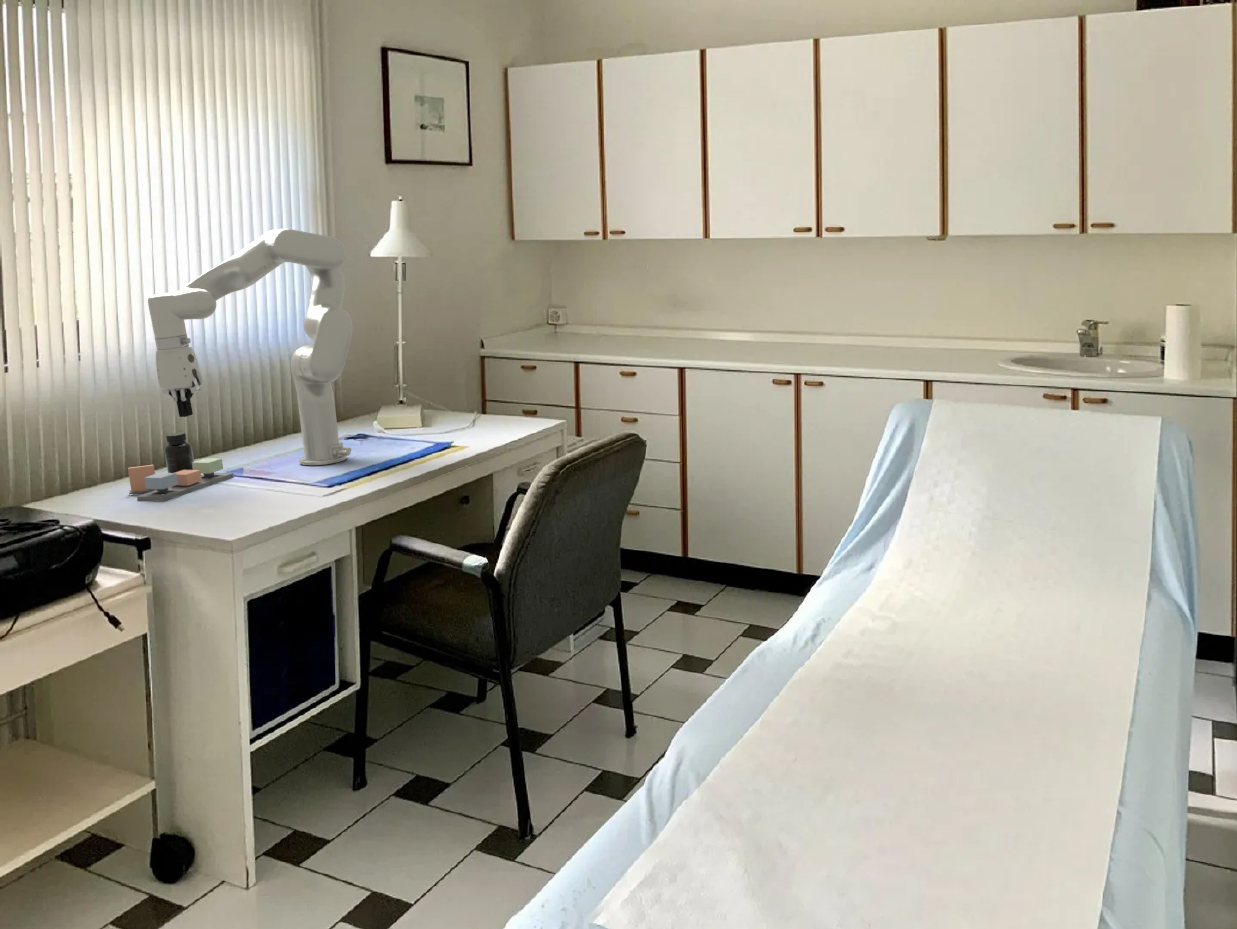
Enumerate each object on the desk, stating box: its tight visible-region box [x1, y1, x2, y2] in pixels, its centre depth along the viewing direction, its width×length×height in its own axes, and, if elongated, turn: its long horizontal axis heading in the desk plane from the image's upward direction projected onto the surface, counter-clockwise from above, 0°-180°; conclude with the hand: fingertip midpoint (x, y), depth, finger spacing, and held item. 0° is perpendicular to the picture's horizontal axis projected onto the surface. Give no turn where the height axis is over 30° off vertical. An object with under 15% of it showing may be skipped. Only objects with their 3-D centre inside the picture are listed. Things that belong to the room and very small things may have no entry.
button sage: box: [192, 457, 224, 476], centre depth 302 cm, size 5×5×4 cm
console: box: [136, 472, 235, 502], centre depth 295 cm, size 8×26×1 cm, turn 159°
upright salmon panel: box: [127, 464, 157, 495], centre depth 293 cm, size 4×7×7 cm, turn 112°
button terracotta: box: [175, 470, 202, 486], centre depth 295 cm, size 5×5×4 cm
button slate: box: [145, 472, 178, 492], centre depth 287 cm, size 5×5×4 cm
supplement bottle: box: [163, 431, 195, 473], centre depth 306 cm, size 7×7×12 cm
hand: (186, 415), depth 295 cm, fingers closed
